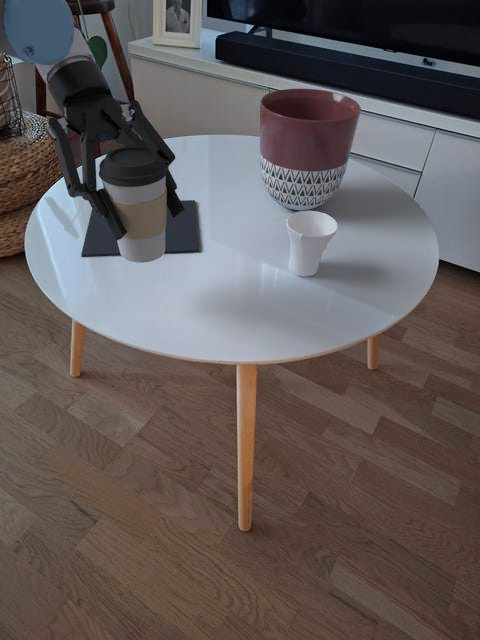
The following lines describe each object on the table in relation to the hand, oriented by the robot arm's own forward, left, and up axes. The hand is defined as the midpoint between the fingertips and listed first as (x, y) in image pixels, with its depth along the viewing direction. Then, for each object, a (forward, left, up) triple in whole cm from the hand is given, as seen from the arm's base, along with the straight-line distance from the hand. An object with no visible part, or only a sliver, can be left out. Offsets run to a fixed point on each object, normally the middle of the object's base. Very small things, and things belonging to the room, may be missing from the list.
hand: (151, 224), depth 65 cm
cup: (+26, +9, -16) cm, 32 cm away
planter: (+30, +34, -16) cm, 48 cm away
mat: (-4, +26, -16) cm, 31 cm away
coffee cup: (-2, +3, -6) cm, 7 cm away
